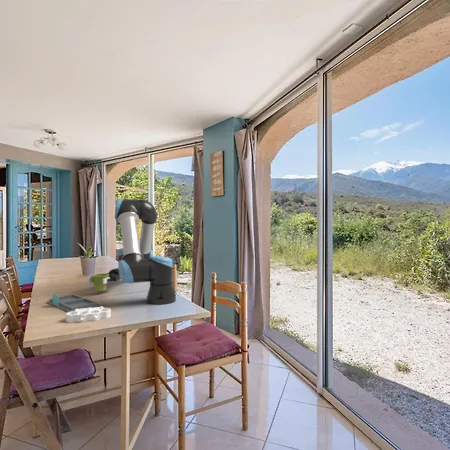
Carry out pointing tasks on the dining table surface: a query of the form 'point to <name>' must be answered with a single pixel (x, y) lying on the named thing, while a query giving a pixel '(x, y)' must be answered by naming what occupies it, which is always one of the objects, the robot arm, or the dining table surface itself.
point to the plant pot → (99, 282)
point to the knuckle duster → (88, 314)
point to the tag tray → (71, 302)
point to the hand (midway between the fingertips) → (95, 281)
